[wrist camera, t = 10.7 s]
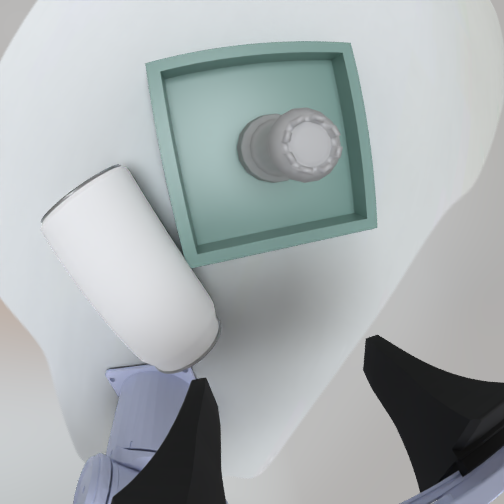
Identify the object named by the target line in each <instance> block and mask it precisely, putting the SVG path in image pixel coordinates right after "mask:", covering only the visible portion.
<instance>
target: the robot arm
mask: <svg viewBox="0 0 504 504" xmlns="http://www.w3.org/2000/svg"><path fill="white" fill-rule="evenodd" d="M365 344H366V345H365V356H364V367H363V371H364V373H365V375H366V377H367V379H368V381H369V384H370V386H371V387H372V389H373V391H374V393H375V394H376V396H377V397H378V399H379V400H380V402H381V403H382V405H383V407H384V408H385V409H386V411H387V413H388V414H389V416H390V417H391V419H392V420H393V422H394V424H395V426H396V428H397V430H398V432H399V434H400V436H401V438H402V441H403V443H404V446H405V448H406V450H407V453H408V455H409V458H410V461H411V463H412V466H413V469H414V472H415V475H416V479H417V482H418V485H419V489H420V494H418V495H416V496H414V497H412V498H410V499H408V500H406V501H404V502H402V503H400V504H431V503H432V502H434V501H435V502H434V503H432V504H489V503H491V502H492V501H493V500H494V499H495V498H497V497H498V496H499V495H500V494H501V493H502V492H503V491H504V383H498V382H487V381H480V380H475V379H470V378H466V377H462V376H458V375H455V374H452V373H449V372H446V371H444V370H441V369H438V368H436V367H434V366H432V365H429V364H427V363H425V362H423V361H421V360H419V359H418V358H415V357H414V356H412V355H410V354H408V353H407V352H405V351H403V350H402V349H400V348H398V347H397V346H395V345H393V344H392V343H390V342H389V341H387V340H385V339H384V338H382V337H380V336H379V335H375V336H372V337H369V338H367V339H366V343H365ZM105 375H106V377H107V379H108V381H109V382H110V384H111V386H112V387H113V389H114V390H115V392H116V394H117V395H118V397H119V400H118V404H117V408H116V412H115V416H114V420H113V425H112V429H111V433H110V438H109V442H108V447H107V452H106V455H104V454H102V453H99V454H97V455H96V456H93V457H90V458H89V459H88V460H87V462H86V464H85V466H84V468H83V470H82V472H81V475H80V478H79V481H78V484H77V487H76V491H75V496H74V501H73V504H228V502H227V501H226V499H225V493H224V487H223V481H222V473H221V430H220V419H219V411H218V406H217V403H216V401H215V398H214V396H213V394H212V391H211V389H210V386H209V384H208V381H207V379H206V378H201V379H196V378H195V376H194V373H193V371H192V368H191V367H190V368H188V369H187V370H184V371H181V372H178V373H173V374H165V373H162V372H160V371H158V370H157V369H156V367H155V366H153V365H150V364H148V365H141V366H133V367H125V368H117V369H108V370H107V371H106V373H105ZM112 378H114V379H112ZM436 500H437V501H436Z"/></svg>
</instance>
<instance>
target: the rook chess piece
mask: <svg viewBox="0 0 504 504" xmlns="http://www.w3.org/2000/svg"><path fill="white" fill-rule="evenodd" d="M340 135H341V134H340V132H339V130H338V128H337V127H336V125H334V124H333V122H332V121H331V120H330V119H329V118H327V117H326V116H325V115H324V114H323V113H321V112H319V111H316V110H313V109H310V108H295V109H291V110H289V111H288V112H286V113H284V114H282V115H280V114H268V115H262V116H259V117H257V118H256V119H254V120H252V121H250V122H249V123H248V124H247V125H246V126H245V128H244V129H243V130H242V132H241V133H240V136H239V140H238V144H237V151H238V156H239V161H240V162H241V164H242V166H243V167H244V169H245V170H246V172H247V173H249V174H250V175H252V176H253V177H255V178H256V179H258V180H261V181H266V182H270V183H276V182H282V181H288V180H289V179H291V180H295V181H299V182H303V183H307V182H313V181H319V180H320V179H322V178H323V177H325V176H326V175H328V174H330V173H331V171H332V170H333V168H334V167H335V165H336V164H337V162H338V160H339V158H341V154H342V149H343V147H341V144H340V137H339V136H340Z"/></svg>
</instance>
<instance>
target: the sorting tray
mask: <svg viewBox="0 0 504 504" xmlns="http://www.w3.org/2000/svg"><path fill="white" fill-rule="evenodd" d="M145 64H146V71H147V78H148V85H149V92H150V98H151V104H152V110H153V116H154V122H155V127H156V133H157V138H158V144H159V149H160V154H161V159H162V164H163V169H164V173H165V178H166V183H167V187H168V192H169V196H170V201H171V205H172V209H173V214H174V218H175V222H176V226H177V230H178V234H179V238H180V242H181V246H182V250H183V254H184V258H185V260H186V262H187V263H188V265H189V266H190V268H196V267H200V266H205V265H209V264H214V263H219V262H223V261H228V260H233V259H237V258H242V257H246V256H251V255H256V254H260V253H265V252H269V251H274V250H278V249H283V248H288V247H292V246H297V245H301V244H306V243H311V242H315V241H320V240H324V239H329V238H333V237H338V236H342V235H347V234H351V233H356V232H361V231H365V230H370V229H374V228H377V211H376V196H375V184H374V173H373V163H372V155H371V147H370V139H369V132H368V125H367V119H366V113H365V107H364V102H363V96H362V91H361V86H360V81H359V76H358V72H357V67H356V63H355V59H354V55H353V51H352V47H351V43H344V42H319V41H296V42H271V43H257V44H246V45H237V46H229V47H222V48H215V49H209V50H203V51H197V52H192V53H187V54H182V55H177V56H173V57H169V58H164V59H160V60H156V61H153V62H149V63H145ZM295 108H310V109H313V110H316V111H319V112H321V113H323V114H324V115H325V116H326V117H327V118H329V119H330V120H331V121H332V122H333V124H334V125H336V127H337V128H338V130H339V132H340V134H341V135H340V136H339V137H340V144H341V147H343V149H342V154H341V158H339V160H338V162H337V164H336V165H335V167H334V168H333V170H332V171H331V173H330V174H328V175H326V176H325V177H323V178H322V179H320V180H319V181H313V182H307V183H303V182H299V181H295V180H291V179H289V180H288V181H282V182H276V183H270V182H266V181H261V180H258V179H256V178H255V177H253V176H252V175H250V174H249V173H247V172H246V170H245V169H244V167H243V166H242V164H241V162H240V161H239V156H238V151H237V144H238V140H239V136H240V133H241V132H242V130H243V129H244V128H245V126H246V125H247V124H248V123H249V122H250V121H252V120H254V119H256V118H257V117H259V116H262V115H268V114H280V115H282V114H284V113H286V112H288V111H289V110H291V109H295Z"/></svg>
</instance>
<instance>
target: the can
mask: <svg viewBox="0 0 504 504" xmlns="http://www.w3.org/2000/svg"><path fill="white" fill-rule="evenodd" d="M41 223H42V226H41V232H42V233H43V235H44V237H45V239H46V240H47V242H48V244H49V245H50V247H51V248H52V250H53V251H54V253H55V255H56V256H57V258H58V259H59V261H60V262H61V264H62V265H63V267H64V268H65V269H66V271H67V272H68V274H69V275H70V277H71V278H72V279H73V281H74V282H75V284H76V285H77V286H78V288H79V289H80V290H81V292H82V293H83V294H84V296H85V297H86V298H87V300H88V301H89V302H90V303H91V305H92V306H93V307H94V308H95V310H96V311H97V312H98V313H99V315H100V316H101V317H102V318H103V320H104V321H105V322H106V323H107V324H108V326H109V327H110V328H111V329H112V330H113V331H114V333H115V334H116V335H117V336H118V337H119V338H120V339H121V340H122V342H123V343H124V344H125V345H126V346H127V347H128V348H129V349H130V350H131V351H132V352H133V353H134V354H135V355H136V356H137V357H138V358H139V359H140V360H141V361H143V362H145V363H147V364H150V365H153V366H155V367H156V369H157V370H158V371H160V372H162V373H165V374H173V373H178V372H181V371H184V370H186V369H188V368H190V367H192V366H193V365H195V364H196V363H198V362H199V361H200V360H201V359H203V358H204V357H205V356H206V355H207V354H208V353H209V352H210V350H211V349H212V348H213V347H214V345H215V344H216V342H217V340H218V338H219V335H220V332H221V323H220V320H219V319H218V318H217V317H216V314H215V307H214V303H213V301H212V299H211V297H210V296H209V294H208V293H207V291H206V290H205V288H204V287H203V285H202V284H201V282H200V281H199V279H198V278H197V276H196V275H195V273H194V272H193V270H192V269H191V268H190V266H189V265H188V263H187V262H186V260H185V258H184V257H183V255H182V254H181V252H180V251H179V249H178V248H177V246H176V245H175V243H174V242H173V240H172V239H171V237H170V235H169V234H168V232H167V231H166V229H165V228H164V226H163V224H162V223H161V221H160V220H159V218H158V217H157V215H156V213H155V212H154V210H153V209H152V207H151V205H150V204H149V202H148V200H147V199H146V197H145V196H144V194H143V192H142V191H141V189H140V187H139V186H138V184H137V182H136V181H135V179H134V178H133V176H132V174H131V173H130V171H129V170H128V168H127V167H121V165H119V164H117V165H114V166H111V167H109V168H107V169H105V170H103V171H101V172H100V173H98V174H96V175H94V176H93V177H91V178H90V179H88V180H86V181H85V182H83V183H82V184H81V185H79V186H78V187H76V188H75V189H73V190H72V191H71V192H69V193H68V194H67V195H66V196H64V197H63V198H62V199H61V200H60V201H58V202H57V203H56V204H55V205H54V206H53V207H52V208H51V209H50V210H49V211H48V212H47V213H46V214H45V215H44V216H43V218H42V219H41Z"/></svg>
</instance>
